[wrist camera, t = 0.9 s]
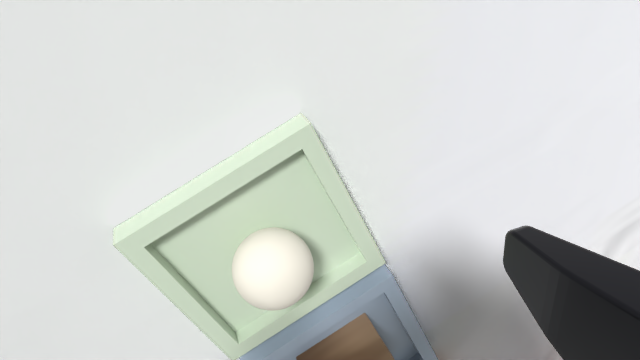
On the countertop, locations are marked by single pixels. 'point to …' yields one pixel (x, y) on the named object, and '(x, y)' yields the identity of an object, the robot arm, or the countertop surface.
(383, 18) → the countertop surface
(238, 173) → the dish sage
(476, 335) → the countertop surface
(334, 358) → the letter cube
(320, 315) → the dish slate
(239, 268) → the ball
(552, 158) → the countertop surface
